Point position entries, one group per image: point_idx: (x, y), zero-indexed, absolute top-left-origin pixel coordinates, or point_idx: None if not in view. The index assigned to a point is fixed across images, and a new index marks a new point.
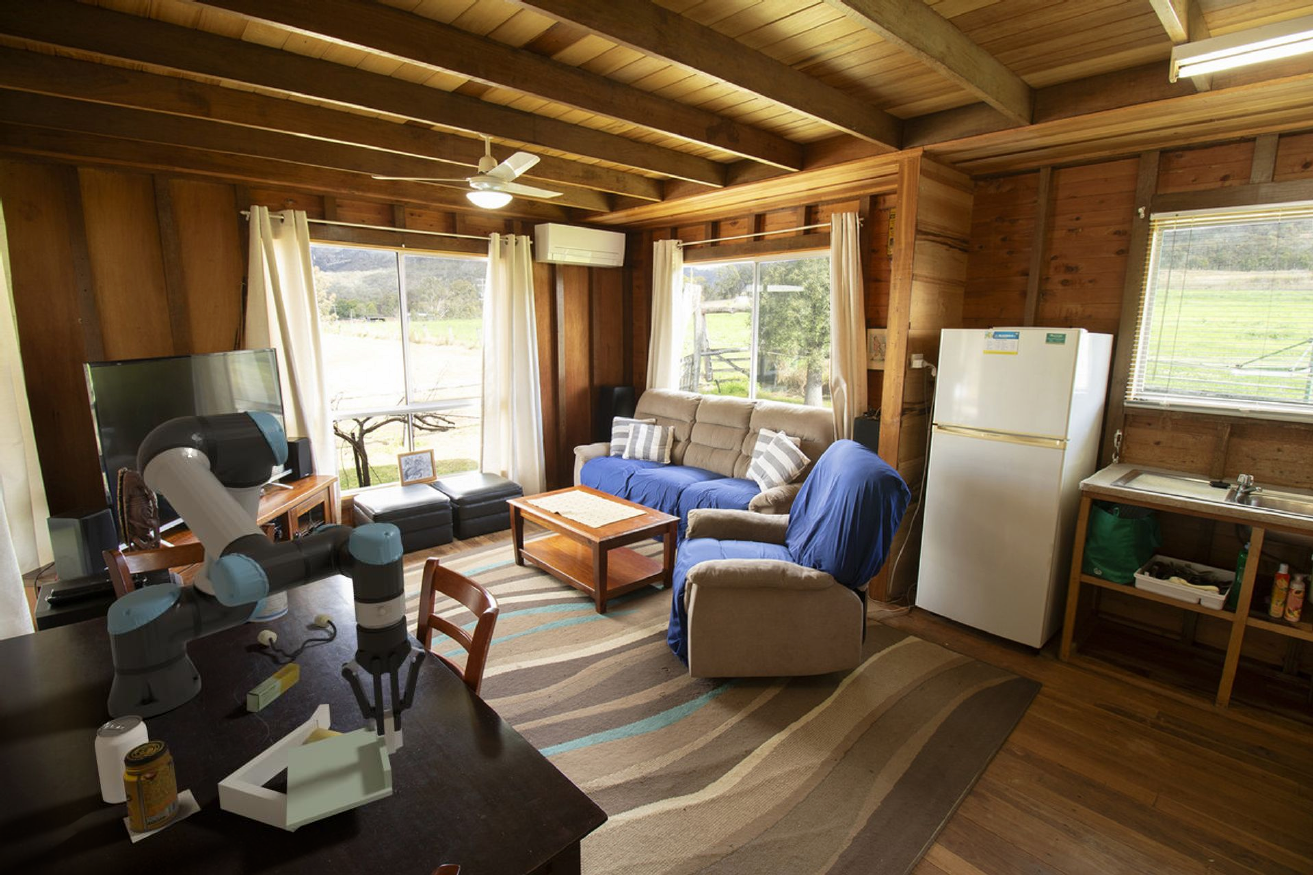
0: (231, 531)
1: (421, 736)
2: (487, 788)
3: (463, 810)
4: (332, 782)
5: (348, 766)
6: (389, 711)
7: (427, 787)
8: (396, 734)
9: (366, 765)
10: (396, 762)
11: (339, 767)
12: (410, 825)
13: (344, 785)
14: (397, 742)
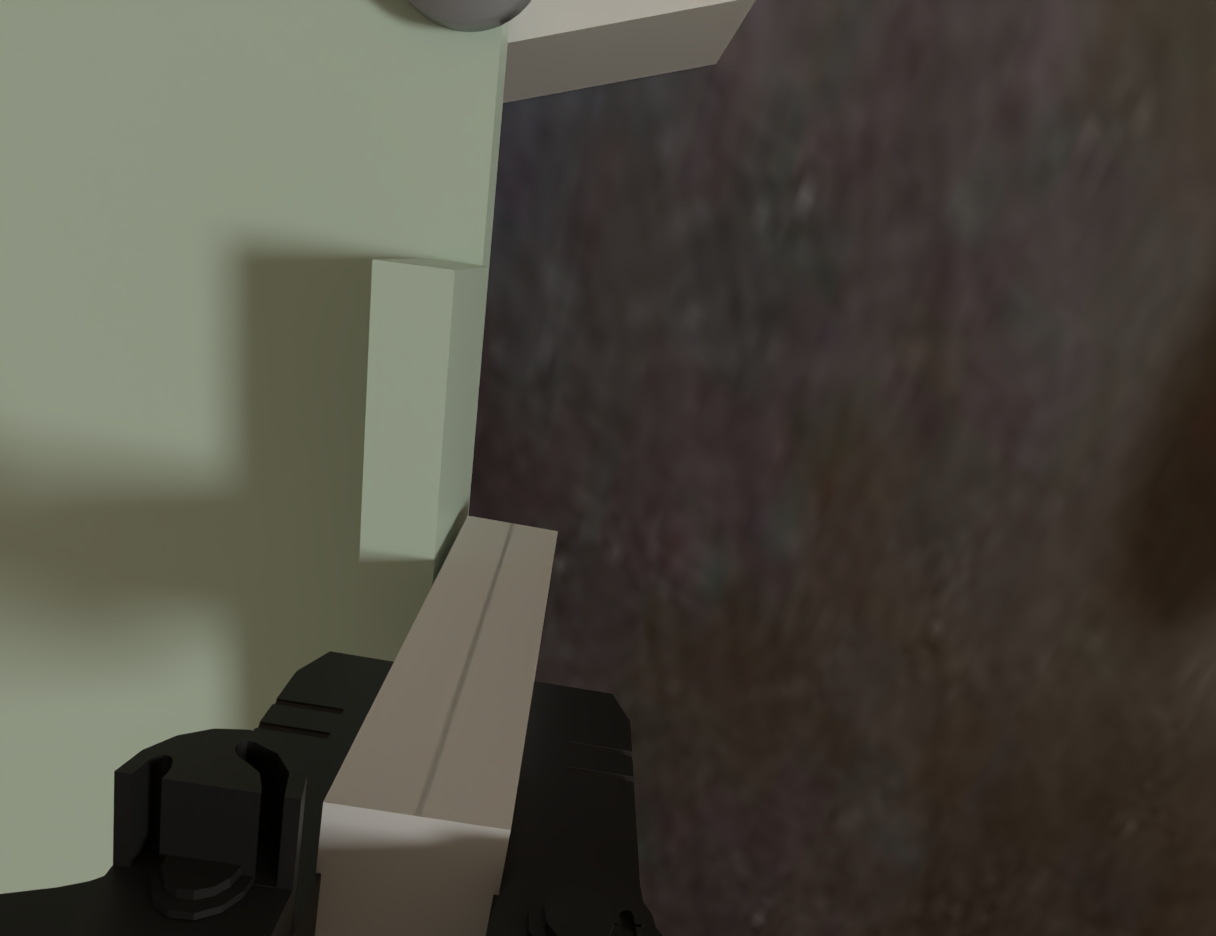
0: None
1: (884, 26)
2: (978, 828)
3: (799, 895)
4: (5, 632)
5: (140, 497)
6: (439, 884)
7: (707, 630)
8: (682, 34)
9: (289, 583)
10: (614, 253)
11: (60, 465)
12: None
13: (101, 721)
14: (677, 58)
